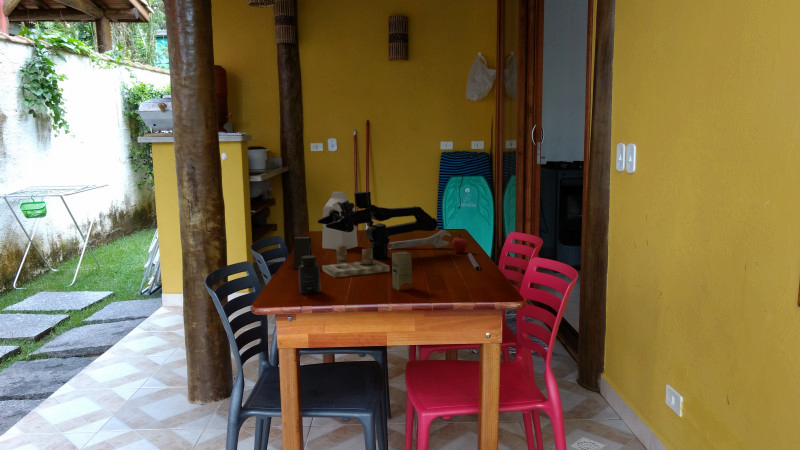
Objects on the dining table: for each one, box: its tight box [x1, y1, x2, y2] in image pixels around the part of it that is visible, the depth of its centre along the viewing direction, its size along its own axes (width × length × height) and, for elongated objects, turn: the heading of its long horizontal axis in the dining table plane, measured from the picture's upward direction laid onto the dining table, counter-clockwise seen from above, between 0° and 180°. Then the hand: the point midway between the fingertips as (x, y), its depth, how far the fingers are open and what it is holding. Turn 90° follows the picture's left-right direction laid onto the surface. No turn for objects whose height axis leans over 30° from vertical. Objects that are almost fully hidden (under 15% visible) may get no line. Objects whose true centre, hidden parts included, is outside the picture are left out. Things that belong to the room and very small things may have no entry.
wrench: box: [387, 229, 452, 250], centre depth 285 cm, size 8×2×30 cm
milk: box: [321, 191, 358, 251], centre depth 290 cm, size 12×12×26 cm
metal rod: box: [467, 252, 481, 271], centre depth 250 cm, size 2×27×2 cm, turn 0°
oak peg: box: [336, 245, 348, 264], centre depth 247 cm, size 4×4×8 cm
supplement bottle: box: [298, 255, 321, 296], centre depth 204 cm, size 7×7×12 cm
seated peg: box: [361, 247, 374, 266], centre depth 239 cm, size 4×4×8 cm
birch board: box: [321, 259, 390, 278], centre depth 238 cm, size 22×14×2 cm, turn 116°
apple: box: [450, 229, 468, 254], centre depth 272 cm, size 8×7×10 cm
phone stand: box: [292, 236, 314, 270], centre depth 246 cm, size 9×6×12 cm, turn 174°
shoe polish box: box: [391, 250, 413, 291], centre depth 208 cm, size 5×5×12 cm
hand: (321, 223), depth 250 cm, fingers open, 9 cm apart
